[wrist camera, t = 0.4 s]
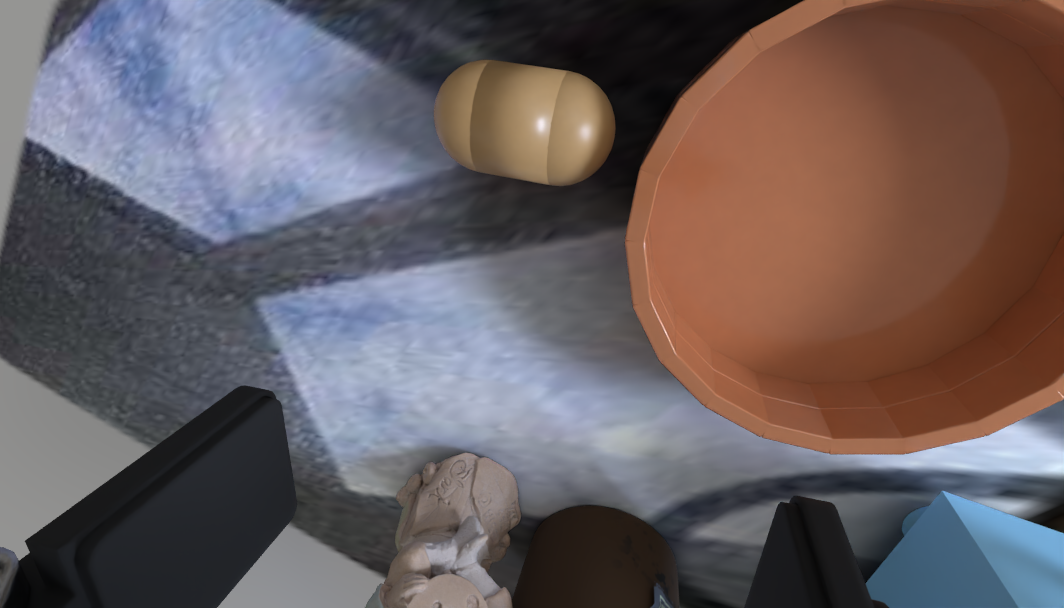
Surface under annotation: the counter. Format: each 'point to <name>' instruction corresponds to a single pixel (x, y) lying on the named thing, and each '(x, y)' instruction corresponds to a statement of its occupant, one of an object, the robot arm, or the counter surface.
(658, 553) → the olive oil
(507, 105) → the potato
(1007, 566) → the light blue teapot
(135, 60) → the counter surface
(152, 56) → the counter surface
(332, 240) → the counter surface
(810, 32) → the terracotta dish
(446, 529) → the figurine
